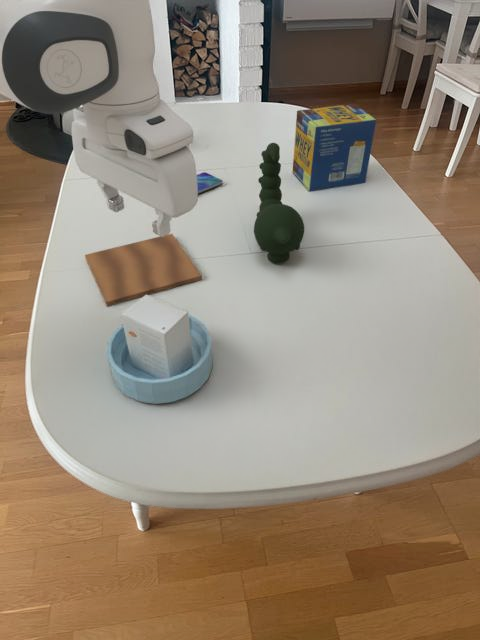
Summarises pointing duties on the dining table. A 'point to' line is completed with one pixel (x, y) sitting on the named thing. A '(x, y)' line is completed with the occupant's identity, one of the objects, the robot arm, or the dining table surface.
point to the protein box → (332, 146)
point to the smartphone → (207, 182)
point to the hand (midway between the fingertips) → (138, 221)
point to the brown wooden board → (141, 269)
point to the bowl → (151, 387)
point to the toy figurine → (276, 213)
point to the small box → (158, 337)
